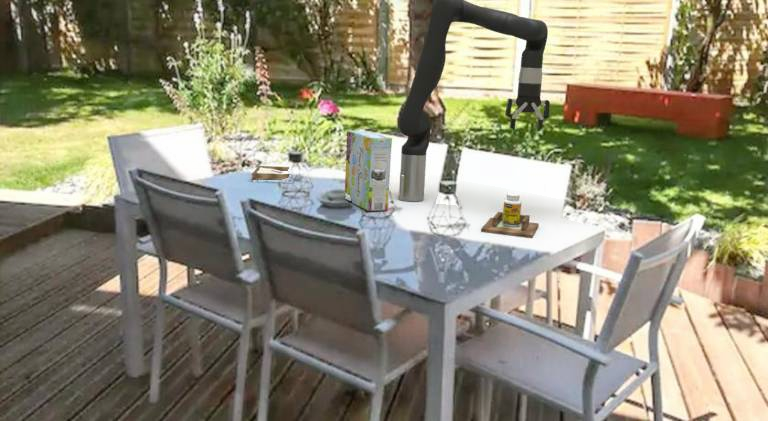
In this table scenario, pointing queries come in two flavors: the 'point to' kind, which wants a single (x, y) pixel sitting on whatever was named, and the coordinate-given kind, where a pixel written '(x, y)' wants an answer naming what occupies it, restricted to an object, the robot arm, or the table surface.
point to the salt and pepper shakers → (269, 171)
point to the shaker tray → (270, 176)
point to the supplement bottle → (511, 210)
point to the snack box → (367, 169)
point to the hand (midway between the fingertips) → (525, 130)
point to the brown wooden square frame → (522, 230)
